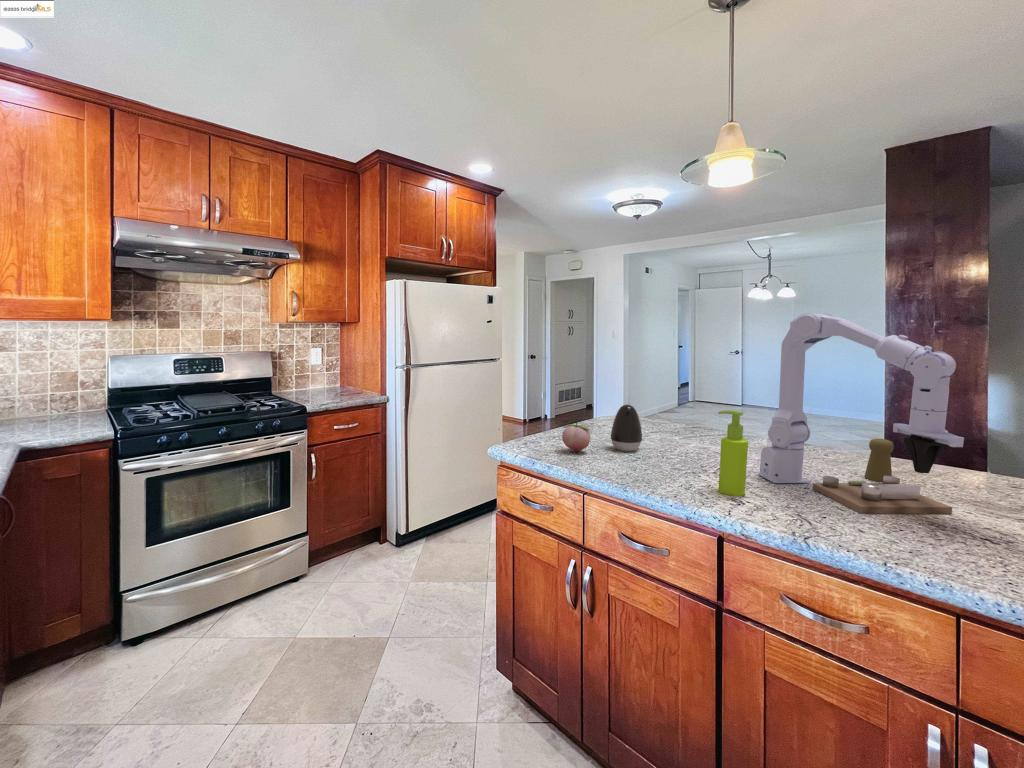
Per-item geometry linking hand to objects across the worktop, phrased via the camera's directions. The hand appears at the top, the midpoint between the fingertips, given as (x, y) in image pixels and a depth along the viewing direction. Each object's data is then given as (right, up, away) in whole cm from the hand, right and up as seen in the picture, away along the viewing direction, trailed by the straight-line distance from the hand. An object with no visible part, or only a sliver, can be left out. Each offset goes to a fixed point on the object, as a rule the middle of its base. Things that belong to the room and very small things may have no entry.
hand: (921, 472), depth 100 cm
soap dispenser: (-34, -8, +15) cm, 38 cm away
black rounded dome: (-50, -3, +56) cm, 75 cm away
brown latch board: (-2, -8, +9) cm, 13 cm away
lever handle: (-2, -7, +6) cm, 10 cm away
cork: (+11, -7, +26) cm, 29 cm away
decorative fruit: (-67, -3, +52) cm, 85 cm away
